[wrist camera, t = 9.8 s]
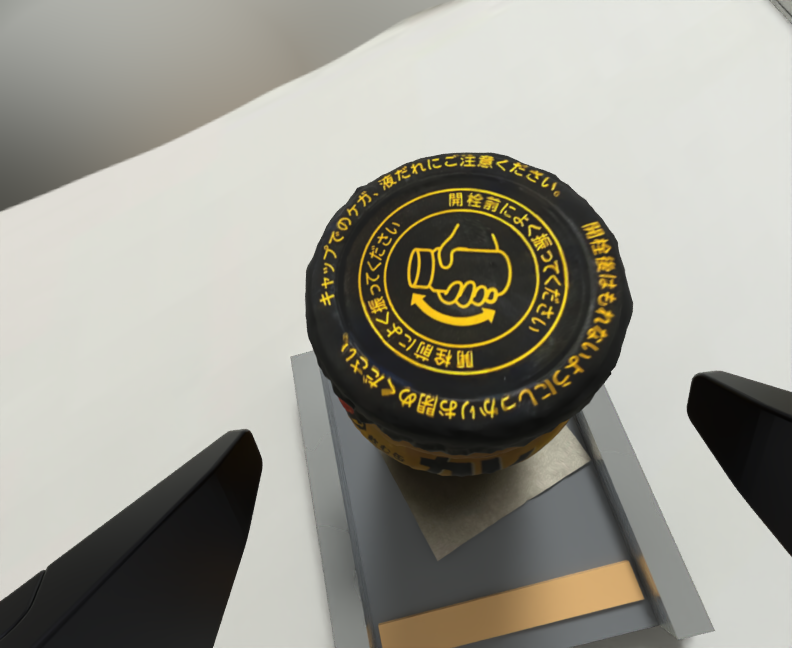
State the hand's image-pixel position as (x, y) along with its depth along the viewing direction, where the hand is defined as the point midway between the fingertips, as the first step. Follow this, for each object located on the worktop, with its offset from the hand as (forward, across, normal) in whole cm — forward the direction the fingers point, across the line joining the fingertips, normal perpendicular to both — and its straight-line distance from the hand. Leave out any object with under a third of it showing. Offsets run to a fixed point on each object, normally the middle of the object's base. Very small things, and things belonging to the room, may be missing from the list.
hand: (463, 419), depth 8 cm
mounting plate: (+6, 0, +8) cm, 10 cm away
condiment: (+7, 0, +6) cm, 9 cm away
